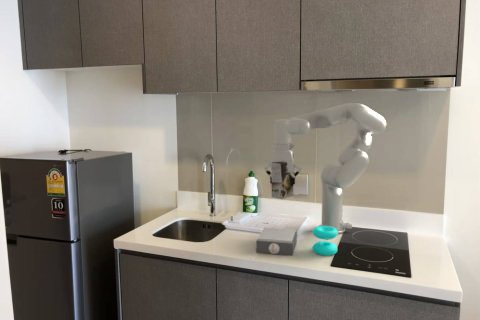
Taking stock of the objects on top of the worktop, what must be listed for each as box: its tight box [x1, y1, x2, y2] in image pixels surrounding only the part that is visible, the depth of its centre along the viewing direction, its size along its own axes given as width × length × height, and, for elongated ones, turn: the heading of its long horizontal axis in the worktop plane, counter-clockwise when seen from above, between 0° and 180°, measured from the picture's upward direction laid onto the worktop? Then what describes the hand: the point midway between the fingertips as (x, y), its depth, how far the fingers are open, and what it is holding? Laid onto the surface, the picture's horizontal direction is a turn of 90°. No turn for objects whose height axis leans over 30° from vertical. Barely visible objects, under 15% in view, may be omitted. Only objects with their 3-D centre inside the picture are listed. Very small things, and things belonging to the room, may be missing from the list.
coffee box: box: [271, 162, 295, 200], centre depth 178 cm, size 9×6×16 cm
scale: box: [255, 226, 298, 257], centre depth 168 cm, size 15×16×6 cm
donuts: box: [312, 225, 339, 257], centre depth 163 cm, size 10×10×10 cm
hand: (282, 185), depth 179 cm, fingers closed on coffee box, 8 cm apart
